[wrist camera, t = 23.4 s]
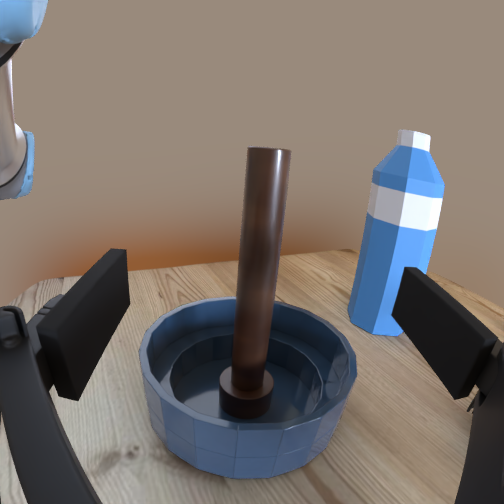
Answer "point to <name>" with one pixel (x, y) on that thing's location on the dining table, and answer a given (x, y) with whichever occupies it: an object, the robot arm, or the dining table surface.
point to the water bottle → (396, 230)
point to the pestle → (256, 283)
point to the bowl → (207, 389)
